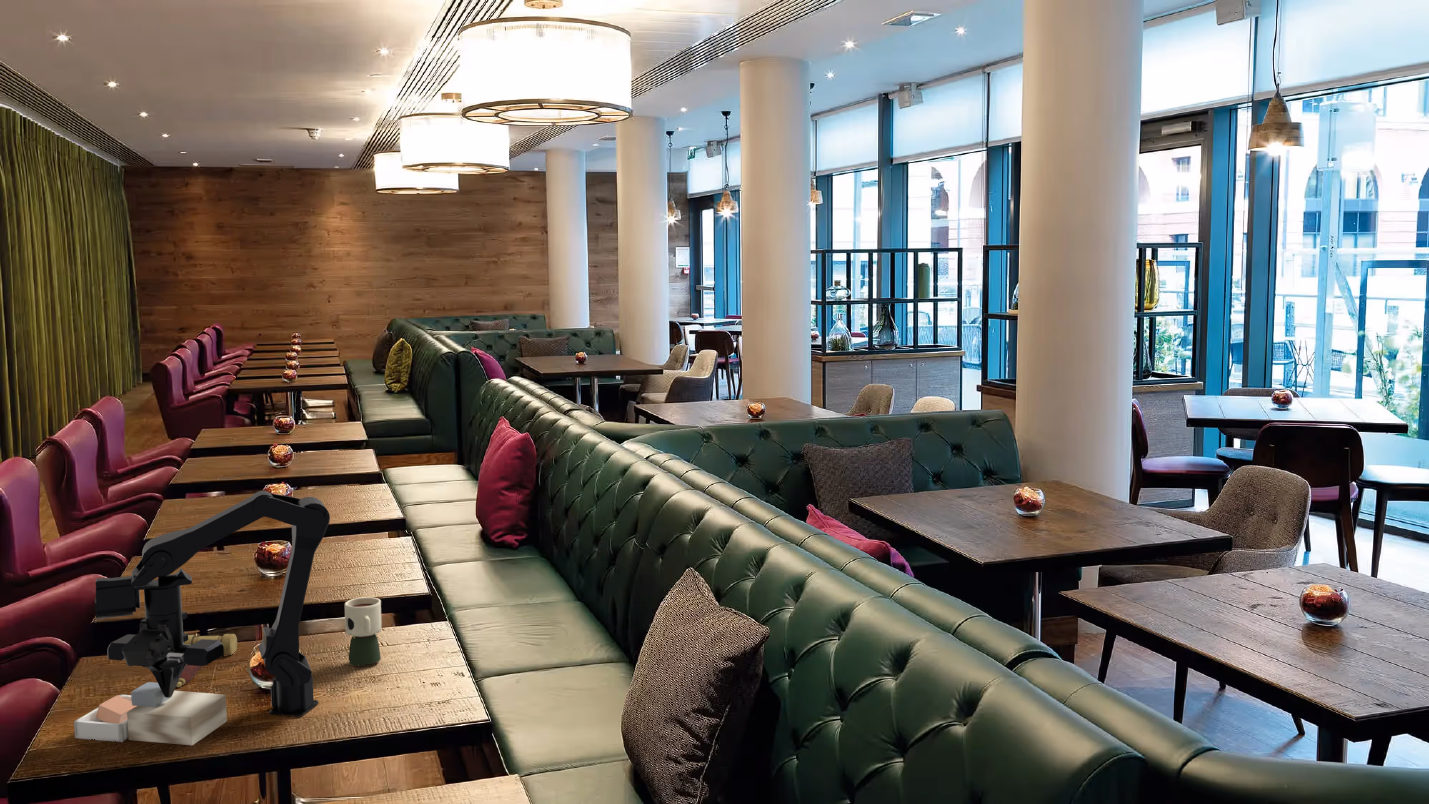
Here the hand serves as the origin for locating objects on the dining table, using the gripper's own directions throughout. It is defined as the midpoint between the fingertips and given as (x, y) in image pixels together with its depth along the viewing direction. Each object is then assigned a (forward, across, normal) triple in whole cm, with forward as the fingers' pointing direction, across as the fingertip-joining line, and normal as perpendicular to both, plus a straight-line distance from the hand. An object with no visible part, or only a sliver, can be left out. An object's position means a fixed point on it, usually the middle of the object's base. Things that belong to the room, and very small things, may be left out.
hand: (168, 696), depth 194 cm
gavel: (+7, -13, +27) cm, 31 cm away
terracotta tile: (+3, -10, +1) cm, 11 cm away
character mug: (+6, +19, +36) cm, 41 cm away
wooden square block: (+6, +2, 0) cm, 6 cm away
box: (+6, -9, 0) cm, 11 cm away
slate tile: (+1, -3, 0) cm, 3 cm away
